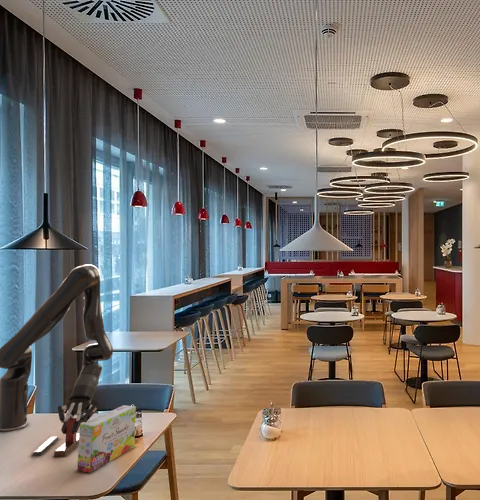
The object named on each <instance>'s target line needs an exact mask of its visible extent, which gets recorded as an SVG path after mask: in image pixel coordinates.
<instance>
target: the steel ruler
mask: <svg viewBox="0 0 480 500" xmlns="http://www.w3.org/2000/svg"><path fill="white" fill-rule="evenodd" d="M57 441H59V436H50V437H49V438H47V439H46V440H45V441H44V442H43V443H41V445H40V446H38V447H37V448H36V449H35V450H34V451H33V452H32V457H33V456H34V457H35V456H41V455H43V454H44V453H45V452H46V451H47V450H48V449H50V448H51V446H52V445H54V444H55V443H56V442H57Z"/></svg>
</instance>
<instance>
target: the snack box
mask: <svg viewBox="0 0 480 500" xmlns="http://www.w3.org/2000/svg"><path fill="white" fill-rule="evenodd" d="M136 413H137V406H133V405H125V404H123V405H121V406H119V407H116V408H115V409H112V410H110V411H107V412H105V413H103V414H101V415H98V416H96V417H94V418H92V419H89V420H88V421H87V422H83V423H81V424H80V427H79V432H78V433H79V445H78V453H77V455H78V456H77V472H83V473H92V472H94V471H96V470H97V469H99V468H100V467H102V466H105V465H106V464H107V463H109V462H111V461H113V460H114V459H116V458H118V457H120V456H121V455H123V454H125V453H127V452H129V451H130V450H132V449H133V448H135V433H136V417H137V416H136V415H137V414H136Z"/></svg>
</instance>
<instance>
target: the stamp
mask: <svg viewBox="0 0 480 500" xmlns="http://www.w3.org/2000/svg"><path fill="white" fill-rule="evenodd" d="M76 418H77V417H73V418H69V419H68V420H67V421H66V434H65V442H64V443H63V444H61V445H60V446H59V447H58V448H56V449H55V450H54V453H53V454H54V458H62V457H63V458H65V457H66V456H68V455H69V454H70V453H71V452H72V451H74V450H75V449H76V448H77V447H79V432H78V431H77V432H76V433H75V434H73V433H72V432H71V431H72V428H73V425H74V423H75V422H76Z"/></svg>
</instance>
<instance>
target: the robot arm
mask: <svg viewBox="0 0 480 500" xmlns="http://www.w3.org/2000/svg"><path fill="white" fill-rule="evenodd" d="M82 293H83V312H82V323H83V329H84V335H85V338H86V339H87V340H90V341H95V342H96V343H91V344H88V345H87V346H86V347H85V348H84V349H83V351H82V367H81V370H80V372H79V375H78V377H77V380H76V381H75V383H74V386H73V389H72V390H71V391H72V392H71V394H70V396H69V399H68V401H67V403H66V404H65V405H58V406H57V412H58V419H59V421H60V422H61V424H62V426H61V428H60V431H61V433H62V435H66V421H67V420H68V419H69V418H76V422H75V423H74V425H73V428H72V431H71V432H72V433H73V434H75V433H76V432H77V433H78V431H79V430H80V424H83V423H85V422H87V421H89V420H91V418H92V416H93V415H95V413H96V412H97V411H98V408H97V406H96V405H95V404H92V402H93V400H94V396H95V393H96V391H97V388H98V384H99V380H100V377H101V374H102V371H103V367H102V365H101V364H100V363H98V362H102V361H103V362H104V361H108V360H110V359H111V358H112V357H113V354H114V348H113V345H112V343H111V341H110V339H109V337H108V335H107V333H106V330H105V325H104V319H103V312H102V303H101V273H100V270H99V268H98V267H97V266H95V265H93V264H83V265H79V266H77V267H74V268H73V269H72V270H70V272H69V273H68V275H67V276H66V278H65V279H64V280H63V281H62V283H61V284H60V285H59V287H58V288H57V289H56V290H55V292H53V293H52V294H51V295H50V296H49V297H48V298H47V299H46V300H45V301H44V302H43V303H42V304H41V305H40V306H39V307H38V309H37V310H36V311H35V312H34V313H33V314H32V315H31V316H30V318H29V319H28V320H27V321H26V322H25V323H24V324H23V325H22V327H21V328H20V329H19V330H18V331H17V332H16V333H15V334H14V335H13V336H12V337H11V338H10V339H9V340H7V342H5V343H4V344H3V345H2V346H0V369H3V370H6V371H5V373H4V374H3V375H2V376H1V377H0V432H9V431H17V430H20V429H22V428H25V427H27V425H28V422H27V421H28V396H29V395H28V393H29V391H28V388H29V377H30V375H31V372H32V364H33V363H32V361H33V351H32V347H31V346H32V345H33V344H35V343H36V342H37V341H39V340H40V339H42V338H43V337H45V336H46V335H48V334H49V333H50V332H52V331H53V330H54V329H55V328H57V326H58V325H59V323H61V322H62V320H63V319H64V318H65V317H66V315H67V313H68V311H69V310H70V307H71V305H72V304H73V302H74V301H75V300H76V299H77V298H78V297H79V296H80V295H82ZM66 410H67V412H66ZM65 413H66V415H65ZM75 416H76V417H75Z"/></svg>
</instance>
